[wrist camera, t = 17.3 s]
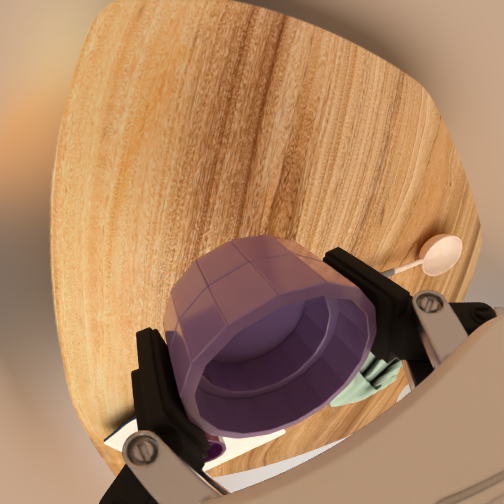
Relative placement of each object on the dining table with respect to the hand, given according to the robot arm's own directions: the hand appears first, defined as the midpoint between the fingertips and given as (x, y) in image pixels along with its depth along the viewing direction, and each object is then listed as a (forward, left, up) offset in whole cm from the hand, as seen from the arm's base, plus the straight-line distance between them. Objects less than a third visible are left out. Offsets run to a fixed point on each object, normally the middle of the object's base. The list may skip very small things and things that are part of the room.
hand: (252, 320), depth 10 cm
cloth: (+38, -16, -13) cm, 43 cm away
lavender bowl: (0, 0, -1) cm, 1 cm away
